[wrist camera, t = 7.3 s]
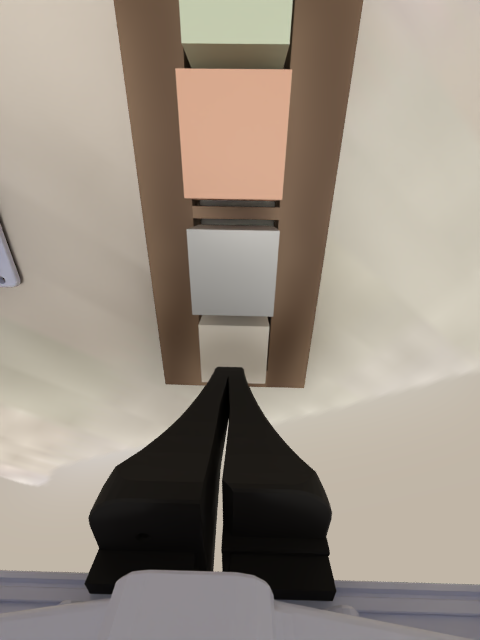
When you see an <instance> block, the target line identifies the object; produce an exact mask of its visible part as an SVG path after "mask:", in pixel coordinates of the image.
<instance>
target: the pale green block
mask: <svg viewBox="0 0 480 640" xmlns="http://www.w3.org/2000/svg"><path fill="white" fill-rule="evenodd" d="M292 4H293V0H179V9H180V26H181V43H182V46H183V48H184V51H185V53H186V56H187V58H188V61H189V63H190V66H191V68H192V69H283V67H284V63H285V59H286V56H287V52H288V48H289V45H290V32H291V18H292Z"/></svg>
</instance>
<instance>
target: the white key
mask: <svg viewBox="0 0 480 640" xmlns="http://www.w3.org/2000/svg"><path fill="white" fill-rule="evenodd" d="M198 327H199V344H200V360H201V377H202V382H208V381H209V379H210V378H211V376H212V374H213V372H214V370H215V368H217V367H242V368H243V369H244V373H245V377H246V380H247V382H248V383H254V384H265V381H266V367H267V353H268V339H269V322H268V317H267V316H224V315H202V317H201V320H200V322H199V325H198Z"/></svg>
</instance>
